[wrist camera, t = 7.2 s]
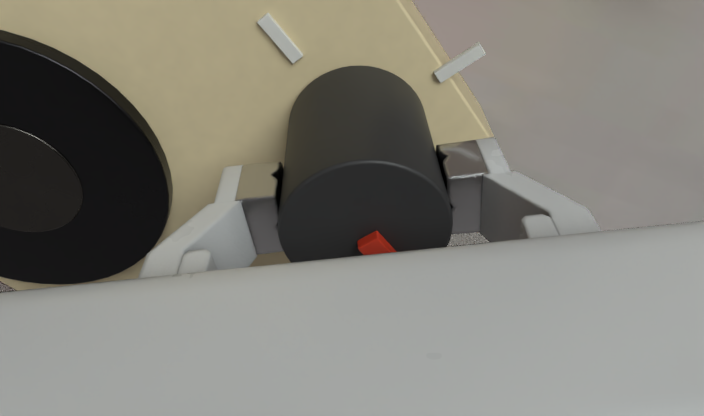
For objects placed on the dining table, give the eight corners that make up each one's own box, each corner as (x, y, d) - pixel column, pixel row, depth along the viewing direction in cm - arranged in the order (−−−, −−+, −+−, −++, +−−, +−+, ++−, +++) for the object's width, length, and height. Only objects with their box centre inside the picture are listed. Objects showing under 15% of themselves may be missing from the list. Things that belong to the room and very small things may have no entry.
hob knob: (260, 115, 16) (237, 229, 12) (376, 35, 14) (393, 135, 10) (341, 202, 18) (346, 323, 14) (450, 140, 16) (487, 254, 12)
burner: (-43, -55, 12) (-58, -47, 12) (233, 191, 17) (230, 204, 17) (-214, 146, 16) (-232, 159, 15) (58, 306, 20) (52, 320, 20)
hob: (215, -401, 11) (183, -447, 9) (517, 101, 19) (545, 152, 17) (-184, 83, 18) (-266, 134, 15) (163, 311, 25) (145, 370, 23)
